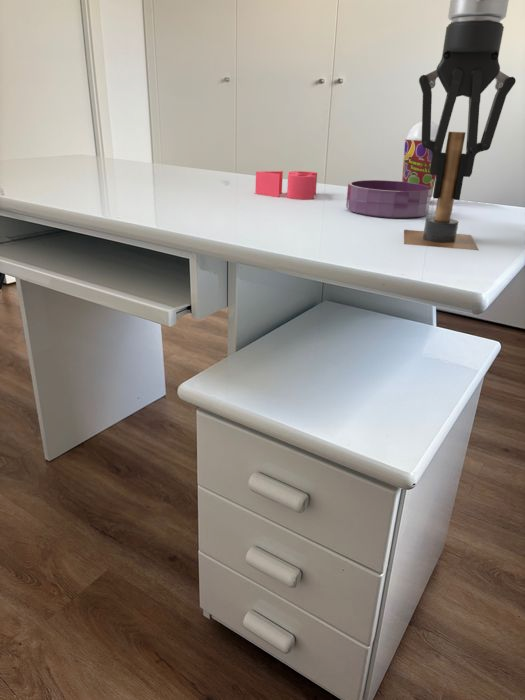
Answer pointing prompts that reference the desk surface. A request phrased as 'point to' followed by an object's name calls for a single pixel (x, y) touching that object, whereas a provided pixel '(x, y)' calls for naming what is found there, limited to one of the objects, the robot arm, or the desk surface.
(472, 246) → the cork mat
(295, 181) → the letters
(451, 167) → the brush
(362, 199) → the bowl
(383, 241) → the desk surface
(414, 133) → the smoothie
